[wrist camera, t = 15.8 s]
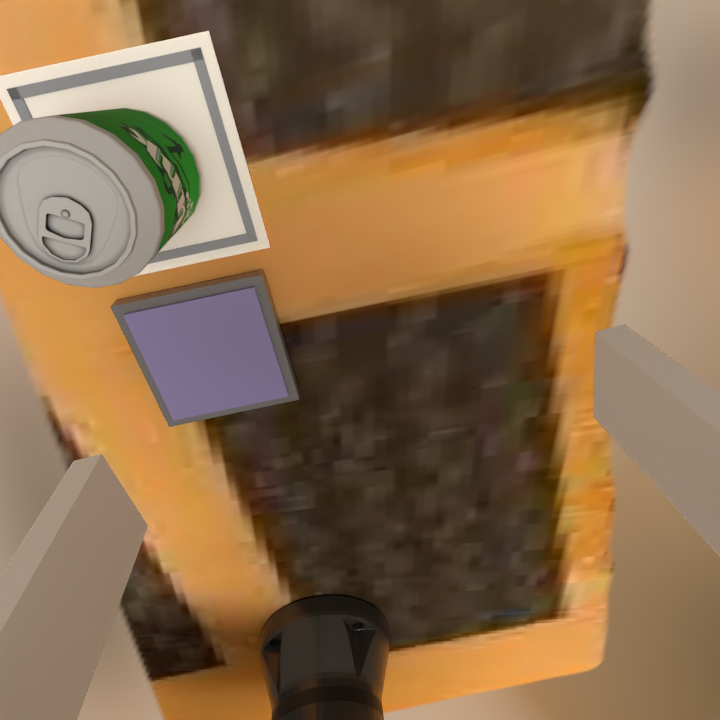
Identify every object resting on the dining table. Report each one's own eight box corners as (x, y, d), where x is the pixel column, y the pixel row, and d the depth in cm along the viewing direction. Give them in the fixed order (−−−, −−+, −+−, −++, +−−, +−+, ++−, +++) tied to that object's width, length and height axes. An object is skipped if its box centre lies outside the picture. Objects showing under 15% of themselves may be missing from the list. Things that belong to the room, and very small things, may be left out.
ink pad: (299, 391, 41) (299, 401, 39) (172, 418, 41) (168, 428, 39) (262, 269, 35) (261, 276, 34) (116, 300, 35) (109, 308, 34)
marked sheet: (270, 246, 34) (270, 248, 34) (93, 284, 35) (91, 286, 34) (209, 31, 28) (207, 30, 28) (-9, 78, 28) (-13, 77, 28)
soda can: (78, 211, 32) (-33, 270, 21) (86, 88, 29) (-40, 87, 18) (194, 244, 34) (144, 314, 23) (214, 132, 30) (167, 154, 20)
